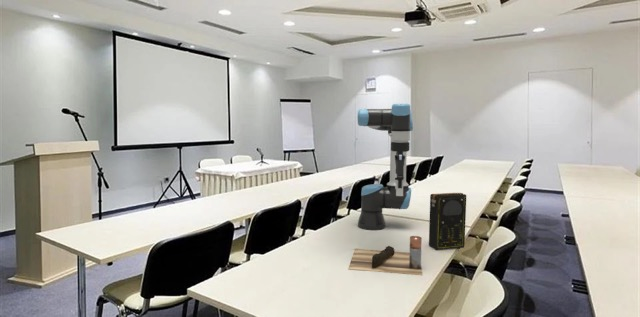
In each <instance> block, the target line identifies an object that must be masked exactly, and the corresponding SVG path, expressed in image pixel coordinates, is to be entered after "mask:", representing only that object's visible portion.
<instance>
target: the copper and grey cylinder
mask: <svg viewBox="0 0 640 317" xmlns="http://www.w3.org/2000/svg"><path fill="white" fill-rule="evenodd" d="M422 240H423V239H422V237H421V236H418V235H411V236H409V253H410V256H409V268H411V269H415V270H418V269H421V268H422Z"/></svg>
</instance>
